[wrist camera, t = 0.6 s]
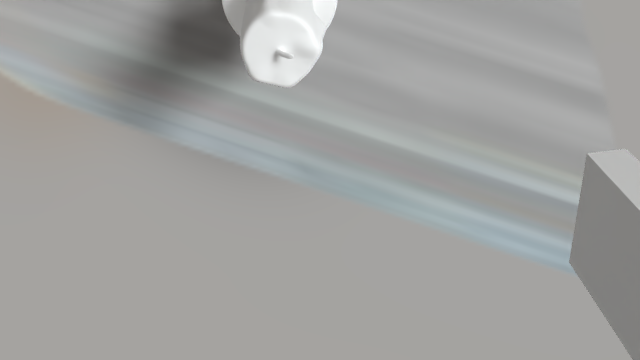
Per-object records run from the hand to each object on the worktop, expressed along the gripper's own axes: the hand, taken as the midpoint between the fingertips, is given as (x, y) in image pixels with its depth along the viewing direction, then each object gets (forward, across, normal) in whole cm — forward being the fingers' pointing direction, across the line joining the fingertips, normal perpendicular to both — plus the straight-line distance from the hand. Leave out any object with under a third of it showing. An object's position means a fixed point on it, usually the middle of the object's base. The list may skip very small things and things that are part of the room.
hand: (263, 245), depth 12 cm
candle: (+19, 0, +1) cm, 20 cm away
